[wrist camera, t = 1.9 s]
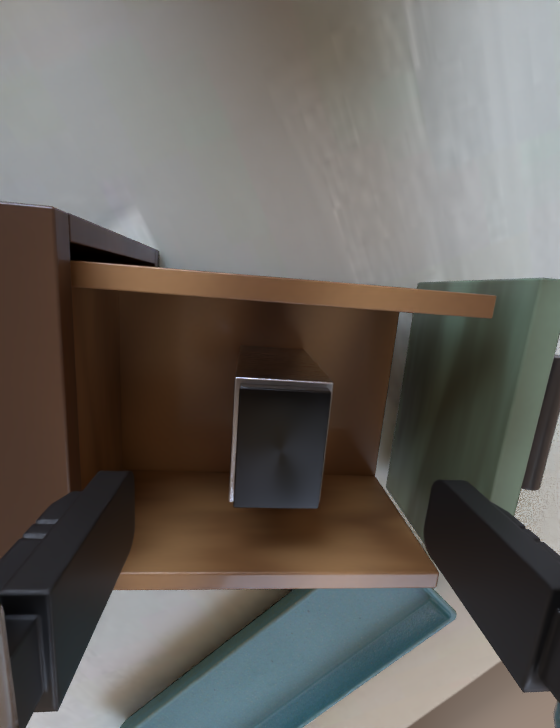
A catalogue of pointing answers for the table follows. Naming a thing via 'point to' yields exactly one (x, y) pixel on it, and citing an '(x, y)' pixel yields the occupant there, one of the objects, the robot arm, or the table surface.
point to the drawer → (346, 424)
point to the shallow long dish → (298, 659)
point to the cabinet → (43, 354)
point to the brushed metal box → (278, 429)
